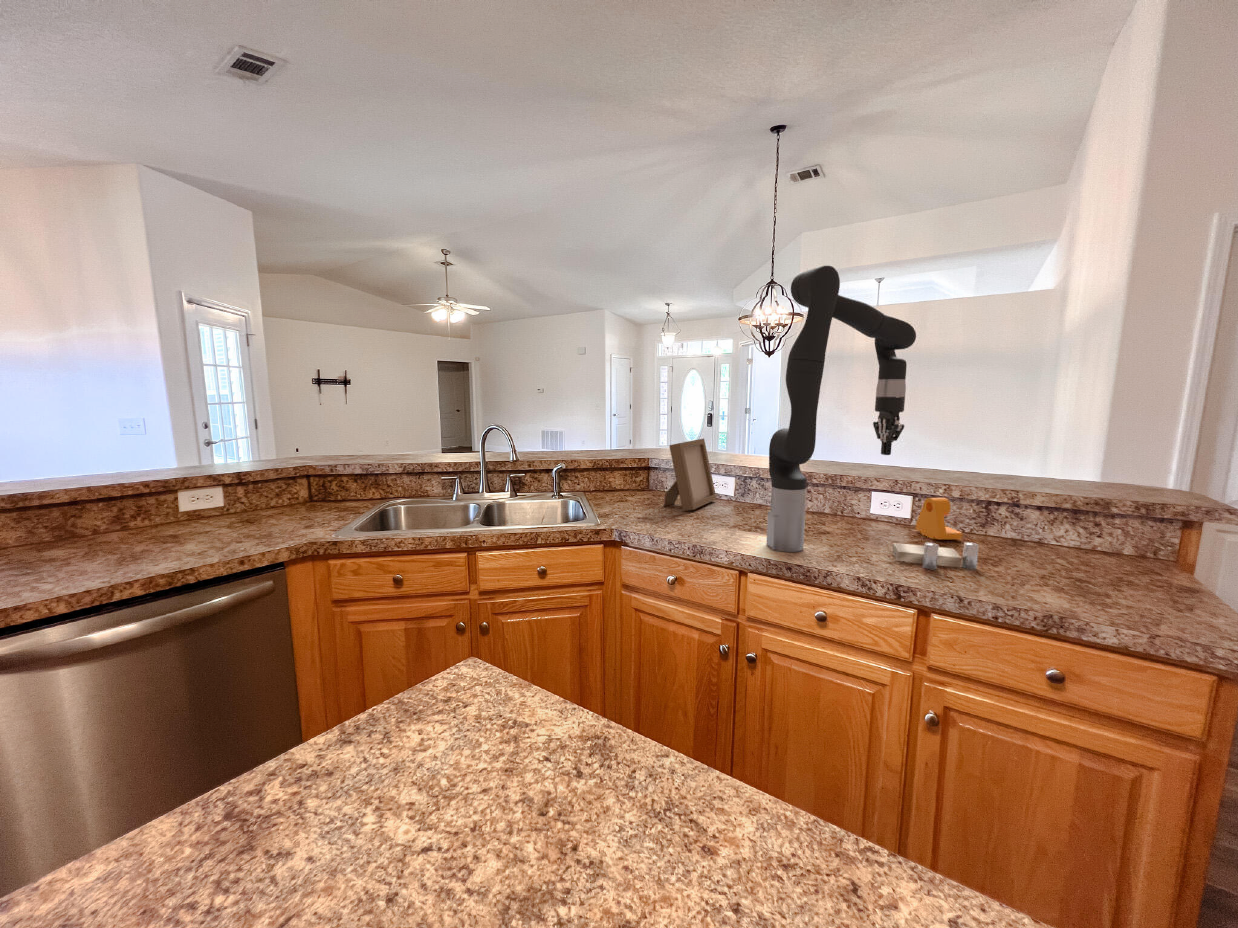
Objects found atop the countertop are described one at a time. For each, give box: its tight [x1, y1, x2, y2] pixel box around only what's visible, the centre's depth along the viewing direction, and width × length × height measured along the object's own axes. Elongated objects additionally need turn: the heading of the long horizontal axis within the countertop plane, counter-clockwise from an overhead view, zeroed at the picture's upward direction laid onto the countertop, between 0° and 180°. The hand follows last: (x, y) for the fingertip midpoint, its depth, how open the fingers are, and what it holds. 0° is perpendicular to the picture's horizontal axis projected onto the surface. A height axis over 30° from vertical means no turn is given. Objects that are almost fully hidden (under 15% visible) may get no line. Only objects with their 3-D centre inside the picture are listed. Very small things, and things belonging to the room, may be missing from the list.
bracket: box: [915, 497, 963, 540], centre depth 152 cm, size 11×7×12 cm, turn 2°
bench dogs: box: [921, 541, 980, 571], centre depth 125 cm, size 13×3×6 cm, turn 91°
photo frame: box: [663, 438, 717, 512], centre depth 194 cm, size 15×22×25 cm
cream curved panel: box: [892, 542, 963, 569], centre depth 131 cm, size 14×8×3 cm, turn 70°
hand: (885, 454), depth 149 cm, fingers closed
